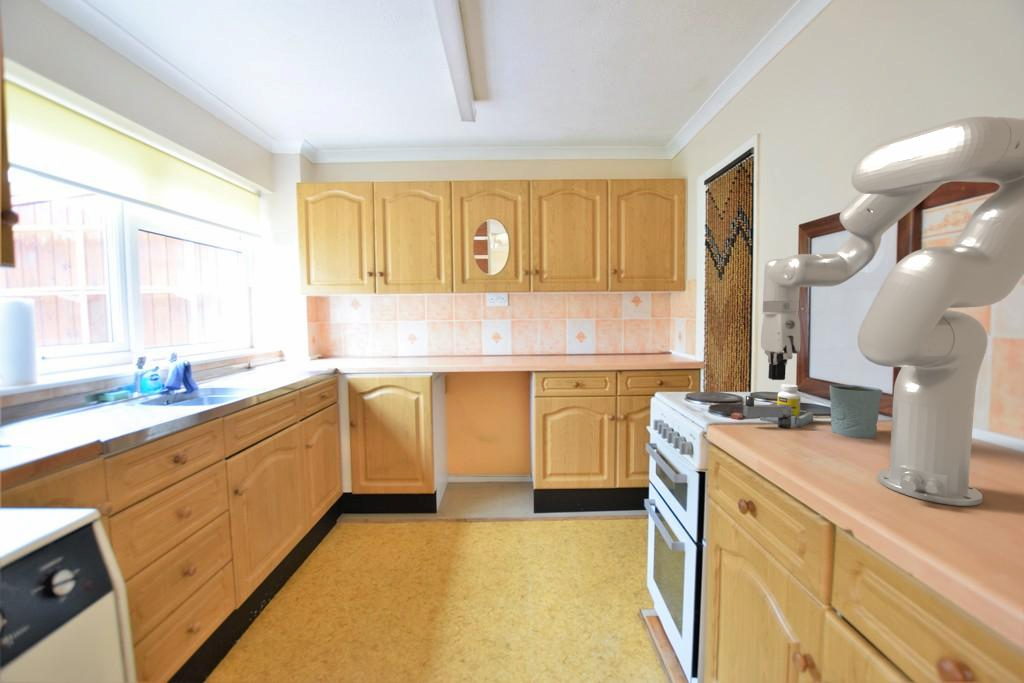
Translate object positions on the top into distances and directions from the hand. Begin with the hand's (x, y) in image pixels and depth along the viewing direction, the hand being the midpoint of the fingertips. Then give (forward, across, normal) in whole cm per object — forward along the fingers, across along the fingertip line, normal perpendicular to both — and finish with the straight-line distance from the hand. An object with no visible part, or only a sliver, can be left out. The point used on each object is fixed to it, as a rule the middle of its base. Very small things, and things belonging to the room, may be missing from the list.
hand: (776, 379), depth 100 cm
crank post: (+14, +9, -1) cm, 17 cm away
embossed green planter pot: (+14, +1, -19) cm, 24 cm away
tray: (+14, +12, -10) cm, 21 cm away
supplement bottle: (+14, +12, -10) cm, 21 cm away
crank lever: (+11, +5, -1) cm, 12 cm away
